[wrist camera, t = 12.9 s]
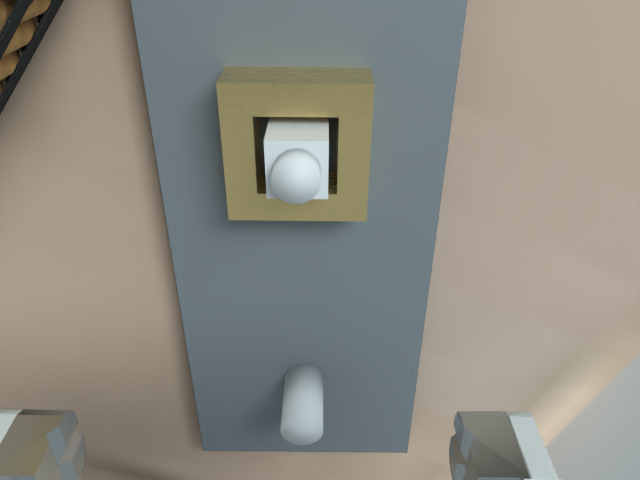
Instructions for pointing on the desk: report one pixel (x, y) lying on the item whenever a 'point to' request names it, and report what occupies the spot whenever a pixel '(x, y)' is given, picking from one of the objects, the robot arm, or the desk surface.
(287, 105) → the brass collar
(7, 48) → the ammunition clip
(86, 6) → the desk surface
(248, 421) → the jig board
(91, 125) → the desk surface
